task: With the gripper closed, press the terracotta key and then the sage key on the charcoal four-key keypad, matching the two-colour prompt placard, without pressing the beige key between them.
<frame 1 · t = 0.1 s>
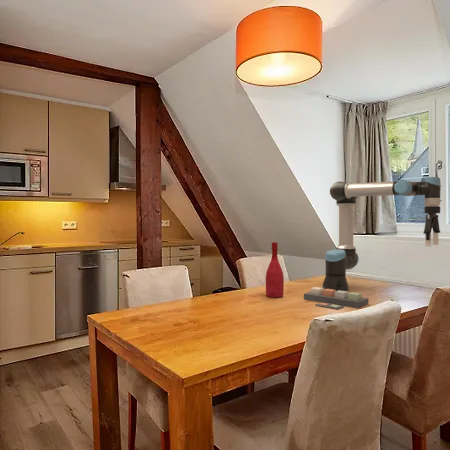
hand: (431, 245, 211), 28 cm above the table, tool pointing down, fingers open, 13 cm apart
key ivory: (317, 291, 210), point 4 cm above the table, slide at 0.0 cm
key terracotta: (329, 292, 206), point 4 cm above the table, slide at 0.0 cm
key beige: (341, 294, 201), point 4 cm above the table, slide at 0.0 cm
wine bottle: (274, 296, 217), on the table
prompt placard: (329, 306, 192), on the table
key sage: (354, 296, 196), point 4 cm above the table, slide at 0.0 cm
keypad: (335, 301, 203), on the table
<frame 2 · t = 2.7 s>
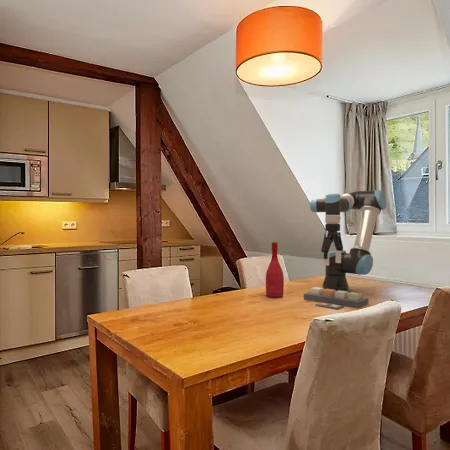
hand: (332, 264, 205), 19 cm above the table, tool pointing down, fingers open, 13 cm apart
nothing on the table moved.
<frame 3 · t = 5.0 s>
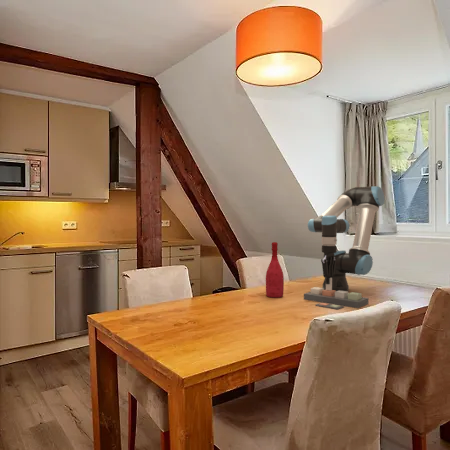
hand: (328, 290, 205), 6 cm above the table, tool pointing down, fingers closed
key terracotta: (329, 293, 206), point 4 cm above the table, slide at 0.3 cm, touching gripper
everything else where it was.
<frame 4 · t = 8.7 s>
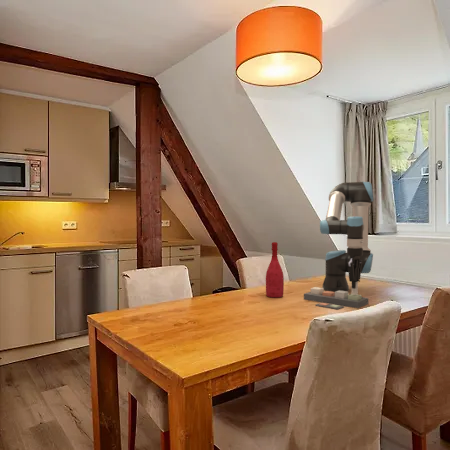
hand: (354, 294, 196), 5 cm above the table, tool pointing down, fingers closed
key terracotta: (329, 295, 206), point 3 cm above the table, slide at 1.2 cm
key sage: (354, 298, 196), point 3 cm above the table, slide at 0.8 cm, touching gripper
everything else where it was.
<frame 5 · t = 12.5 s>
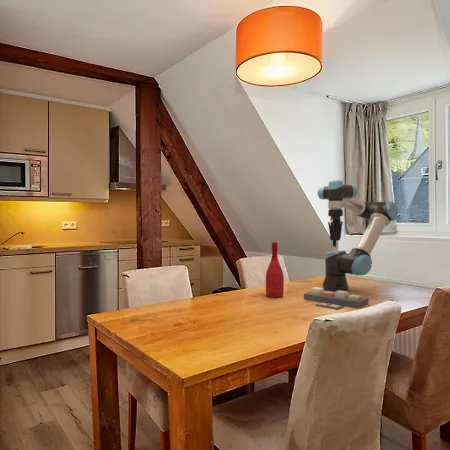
hand: (335, 252, 213), 24 cm above the table, tool pointing down, fingers closed
key sage: (354, 299, 196), point 3 cm above the table, slide at 1.2 cm
everything else where it was.
at the end: key terracotta slide at 1.2 cm; key sage slide at 1.2 cm; key beige slide at 0.0 cm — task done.
